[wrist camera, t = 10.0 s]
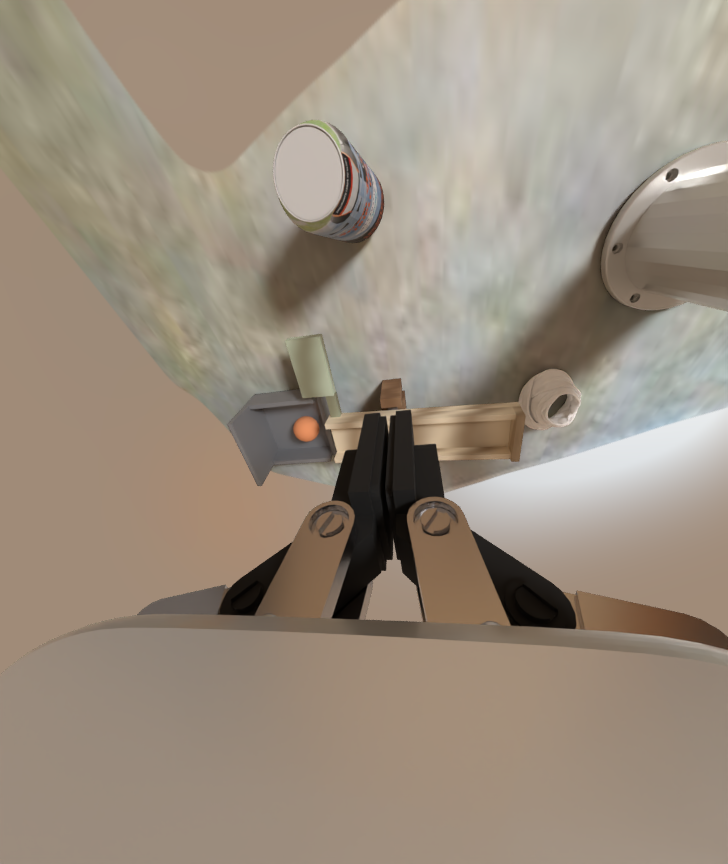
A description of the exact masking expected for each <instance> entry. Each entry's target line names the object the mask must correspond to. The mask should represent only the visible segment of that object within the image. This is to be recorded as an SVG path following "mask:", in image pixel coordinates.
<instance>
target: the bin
mask: <svg viewBox="0 0 728 864" xmlns="http://www.w3.org/2000/svg"><path fill="white" fill-rule="evenodd" d="M329 415H330V412H329V408H328V404H327V400H326V397H325V396H324V397H312V398H302V394H301V391H300V389H297V390H288V391H280V392H271V393H262V394H255V395H254V396H253V397H252V398H251V399H250V400H249V401H248V402H247V403H246V404H245V405H244V407H243V408H242V409H241V410H240V411H239V412H238V413H237V414H236V415H235V416H234V417H233V418H232V419H231V421H230V422H229V423H228V424H227V425H228V427H229V429H230V431H231V433H232V435H233V437H234V439H235V441H236V443H237V445H238V447H239V449H240V451H241V453H242V455H243V457H244V459H245V461H246V463H247V465H248V467H249V469H250V471H251V473H252V475H253V477H254V479H255V482H256V484H257V485H258V486H262V484H263V483H264V481H265V479H266V477H267V476H268V474H269V472H270V470H271V468H272V467H273V465H279V464H295V463H310V462H326V461H331V458H332V455H336V453H337V450H336V446H335V442H334V439H333V435H332V431H331V429H326V428H325V423H326V421H327V419H328V417H329ZM303 416H309V417H312V418H314V419H315V420H316V421H317V422H318V424H319V433H318V435H317V437H316V438H315V439H313V440H312V441H308V442H305V441H301V440H299V439H298V438H297V437H296V436H295V434H294V431H293V427H294V424H295V422H296V421H297V420H298V419H299V418H300V417H303Z"/></svg>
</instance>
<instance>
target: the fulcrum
mask: <svg viewBox="0 0 728 864" xmlns="http://www.w3.org/2000/svg"><path fill="white" fill-rule="evenodd" d="M380 403H381V409H382V411H385V410H388V408H391V407H398V410H400V409H406V400H405V391H402V384H401V378H400V379H391V380H383V381H382V388H381V395H380Z"/></svg>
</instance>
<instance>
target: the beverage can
mask: <svg viewBox="0 0 728 864" xmlns="http://www.w3.org/2000/svg"><path fill="white" fill-rule="evenodd" d="M273 178H274V184H275V188H276V192H277V195H278V197H279V200H280V203H281V205H282V207H283V209H284V211H285V212H286V214H287V216H288V217H289V218H290V219H291V220H292V222H293V223H294V224H296V225H297V226H298V227H299V228H301V229H302V230H304V231H306V232H309V233H312V234H316V235H320V236H324V237H328V238H332V239H336V240H340V241H344V242H348V243H358V242H361V241H364V240H365V239H367V238H369V237H370V236H371V235H372V234H373V233H374V232H375V230H376V229H377V227H378V225H379V224H380V221H381V219H382V215H383V210H384V195H383V190H382V187H381V184H380V182H379V180H378V178H377V177H376V175H375V174H374V173H373V171H372V170H371V169H370V168H369V166H368V165H367V164H366V162H365V161H364V160H363V159H362V157H361V156H360V155H359V154H358V152H357V151H356V150H355V148H354V147H353V146H352V145H351V143H350V142H349V141H348V140H347V138H346V137H345V136H344V134H343V133H342V132H341V131H340V130H338V129H337V128H336V127H335V126H333V125H331V124H329V123H327V122H324V121H320V120H310V121H306V122H303V123H301V124H299V125H297V126H295V127H293V128H291V129H290V130H289V131H288V132H287V133H286V134H285V135H284V136H283V138H282V139H281V141H280V143H279V145H278V147H277V150H276V153H275V157H274V163H273Z"/></svg>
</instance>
